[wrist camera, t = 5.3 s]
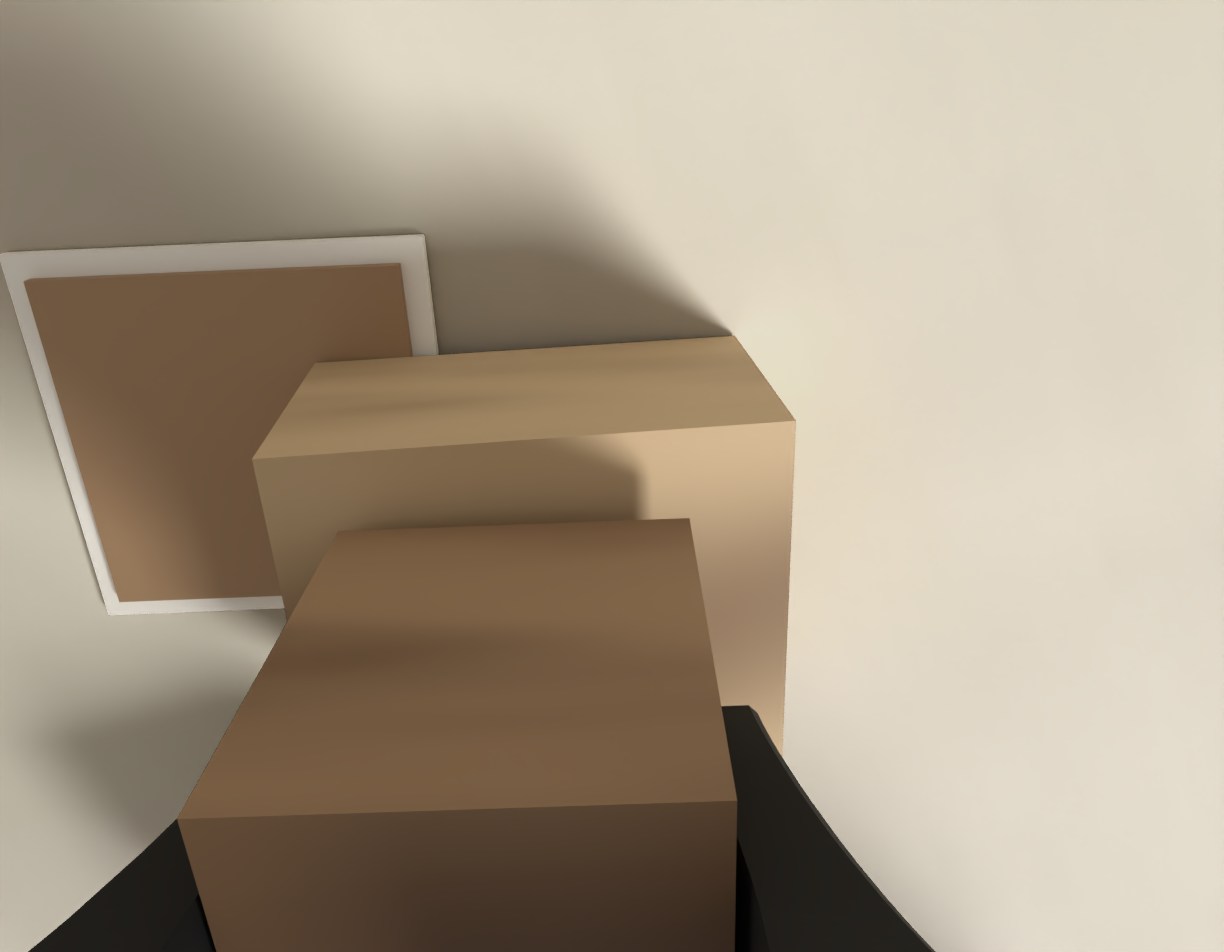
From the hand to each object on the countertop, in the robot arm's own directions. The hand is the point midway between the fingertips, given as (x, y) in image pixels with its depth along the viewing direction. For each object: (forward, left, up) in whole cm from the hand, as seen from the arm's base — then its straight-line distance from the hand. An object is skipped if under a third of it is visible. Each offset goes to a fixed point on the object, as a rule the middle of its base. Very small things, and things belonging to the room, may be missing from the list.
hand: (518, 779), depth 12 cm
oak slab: (0, 0, -6) cm, 6 cm away
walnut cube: (0, 0, -2) cm, 2 cm away
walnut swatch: (+2, +5, -7) cm, 9 cm away
